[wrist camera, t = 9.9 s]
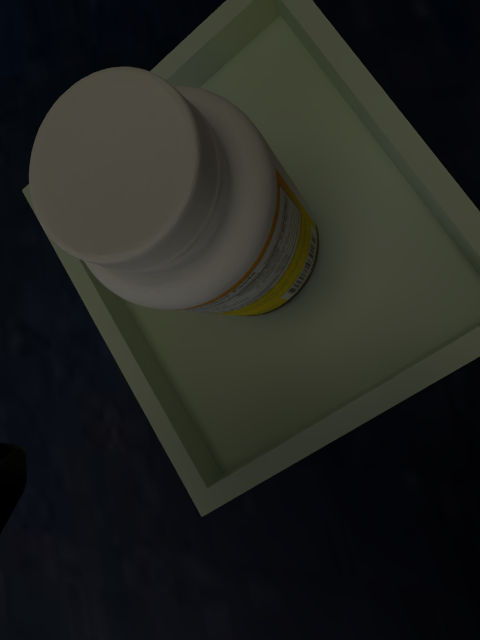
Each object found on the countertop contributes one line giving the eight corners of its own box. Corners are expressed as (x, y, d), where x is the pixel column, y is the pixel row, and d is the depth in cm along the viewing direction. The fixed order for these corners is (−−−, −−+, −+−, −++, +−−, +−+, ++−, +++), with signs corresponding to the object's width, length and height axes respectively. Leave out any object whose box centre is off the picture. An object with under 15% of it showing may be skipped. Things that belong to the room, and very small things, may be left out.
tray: (533, 314, 16) (558, 311, 14) (224, 494, 20) (201, 517, 17) (290, 0, 19) (275, -46, 17) (60, 205, 23) (22, 190, 20)
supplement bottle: (179, 208, 20) (-25, 90, 10) (301, 163, 18) (199, -33, 8) (208, 333, 19) (22, 334, 9) (338, 297, 18) (273, 254, 8)
